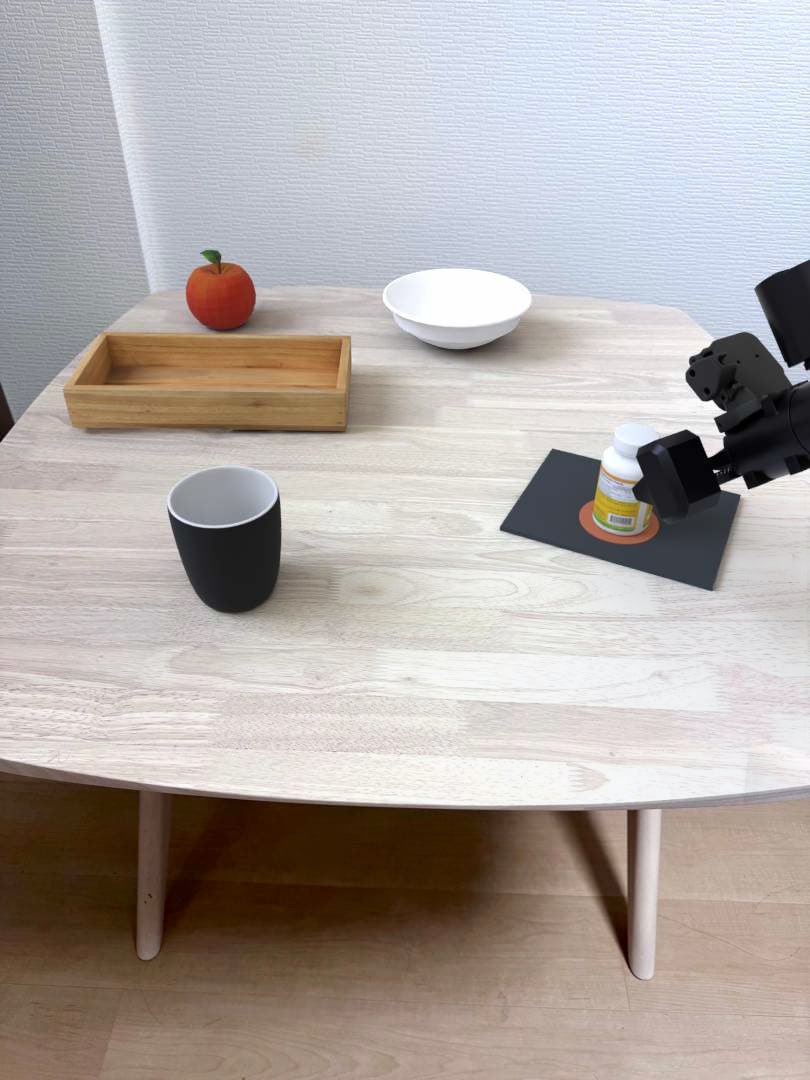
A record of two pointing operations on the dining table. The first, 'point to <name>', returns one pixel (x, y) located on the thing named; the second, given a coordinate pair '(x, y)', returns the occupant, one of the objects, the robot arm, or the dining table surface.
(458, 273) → the bowl
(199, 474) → the mug
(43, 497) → the dining table surface
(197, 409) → the tray
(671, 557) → the placemat
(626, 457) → the supplement bottle
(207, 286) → the fruit
